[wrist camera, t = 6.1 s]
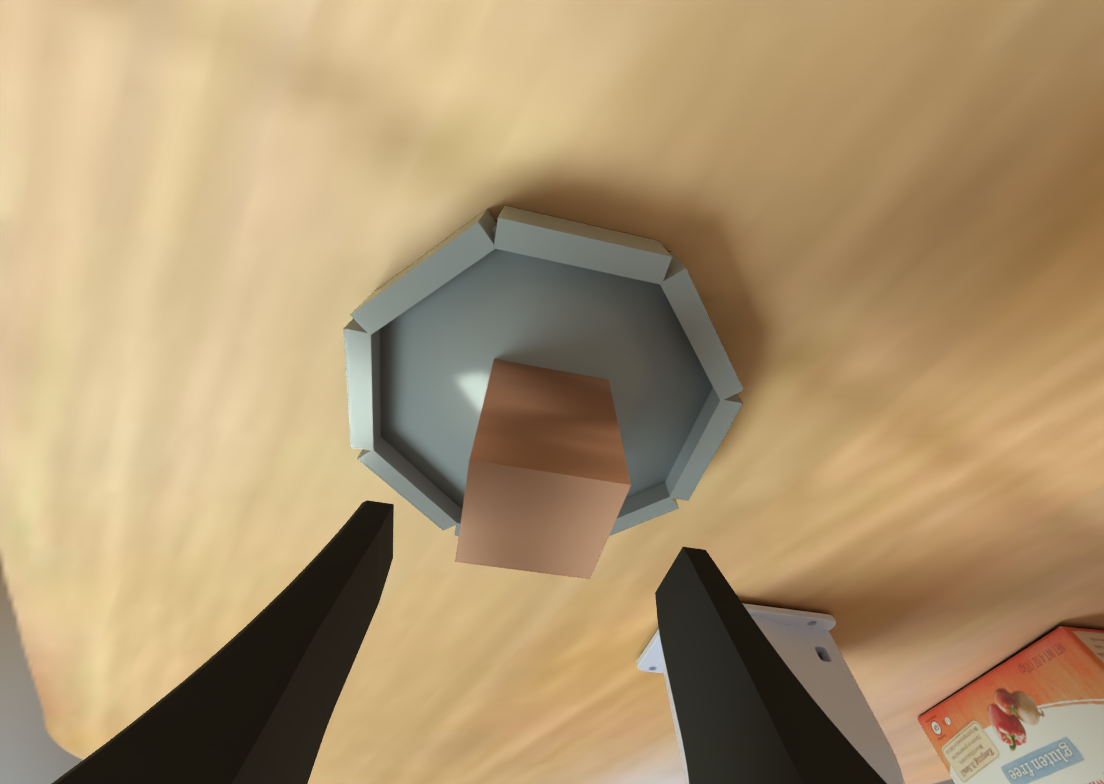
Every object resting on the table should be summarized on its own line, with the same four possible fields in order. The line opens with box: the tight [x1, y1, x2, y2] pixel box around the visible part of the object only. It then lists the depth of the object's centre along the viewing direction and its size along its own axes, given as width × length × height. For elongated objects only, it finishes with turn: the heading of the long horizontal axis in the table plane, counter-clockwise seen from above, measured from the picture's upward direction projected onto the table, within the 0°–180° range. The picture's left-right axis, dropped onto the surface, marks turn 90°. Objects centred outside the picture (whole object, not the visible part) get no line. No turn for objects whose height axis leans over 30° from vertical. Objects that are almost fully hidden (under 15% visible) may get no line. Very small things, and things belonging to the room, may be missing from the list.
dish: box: [344, 205, 744, 536], centre depth 15 cm, size 13×13×2 cm
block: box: [455, 359, 631, 579], centre depth 13 cm, size 4×4×5 cm
